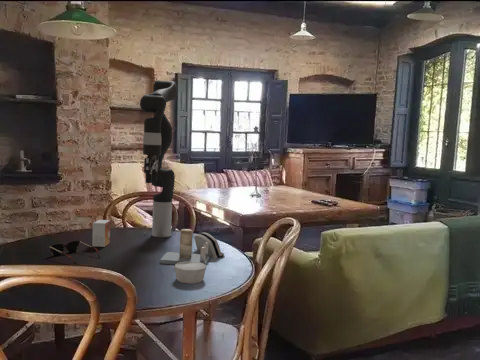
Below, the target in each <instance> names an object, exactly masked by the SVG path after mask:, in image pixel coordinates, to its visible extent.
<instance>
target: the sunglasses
mask: <svg viewBox="0 0 480 360" xmlns="http://www.w3.org/2000/svg"><path fill="white" fill-rule="evenodd" d="M80 243H81V244H83V245H86V246H87V247H90V248H91V249H95V251H96V253H97V255H98V259H101V256H100V253H99V250H98V249H97V248H96V247H95V246H92V245H89V244H87V243H86V242H83V241H81V240H76V239H75V240H71V241H68V242H67V243H66V244H63V243H55V244H50V245H49V249H50V252H51V255H52V256H53V257H54V256H58V255H61V254H63V255H65V256H67V257H68V258H70V259H71V261H73V262H74V264H75V265H77V264H78V262H77V261H76V260H75V259H73V258H72V257H71V256H70V255H69V254H67V253H65V252H64V249H66V251H67V252H68V253H73V252H74V253H75V252H76V251H77V250H78V247H79V245H80Z"/></svg>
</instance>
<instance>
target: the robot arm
mask: <svg viewBox="0 0 480 360" xmlns="http://www.w3.org/2000/svg"><path fill="white" fill-rule="evenodd" d="M152 86H153V87H152V88H153V89H152V92H150V93H147V94H144V95H143V96H142V97H141V98H140V101H139V107H140V109H141V111H142V112H144V113H153V117H150V118H145V120H144V122H143V123H144V124H143V135H142V136H143V137H142V139H143V140H142V154H143V155H144V156H147V157H144V159H143V160H144V165H143V173H145V184H151V185H152V186H153V187H155V188H156V187H157V188H161V189H162V190H161V192H158V193H156V194H154V195H153V196H152V197H153V198H152V223H151V224H152V225H151V226H152V227H151V228H152V231H151V235H152V237H155V238H170V237H171V236H172V216H173V215H172V214H173V213H172V212H173V197H174V194H175V193H174V192H175V182H176V181H175V171H174V170H172V169H171V168H162V167H163V166H162V165H163V160H164V157H165V155H166V154H167V152H168V150H169V148H170V147H171V145H172V142H173V126H172V125H171V122H170V121H169V119H168V117H167V116H166V113H165V110H166V107H167V103H169V102H170V101H175V100H176V98H177V97H178V96H177V95H178V85H177V84H176V82H175V81H172V80H155V81H154V83H153V85H152Z"/></svg>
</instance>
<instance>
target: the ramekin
mask: <svg viewBox="0 0 480 360" xmlns="http://www.w3.org/2000/svg"><path fill="white" fill-rule="evenodd" d="M206 269H207V265H205V264H203V263H199V262H180V263H177V264H174V272H175V278H176V280H177V281H178V282H179V283H181V284H199V283H202V281H204V279H205V274H206V273H205V272H206Z"/></svg>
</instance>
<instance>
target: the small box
mask: <svg viewBox="0 0 480 360" xmlns="http://www.w3.org/2000/svg"><path fill="white" fill-rule="evenodd" d="M91 239H92V243H91V244H92V245H91V246H92V247H95V248H96V247H101V248H105V247H107V246H108V245H109V244H110V243H111V242H110V240H111V220H109V219H98V220H96V221H94V222H93V223H92V238H91Z"/></svg>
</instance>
